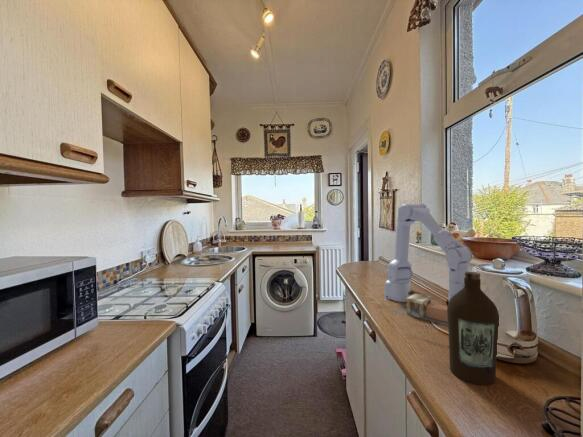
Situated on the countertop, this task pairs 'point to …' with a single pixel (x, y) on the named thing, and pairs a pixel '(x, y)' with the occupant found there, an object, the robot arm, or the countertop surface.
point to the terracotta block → (437, 312)
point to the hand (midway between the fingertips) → (458, 320)
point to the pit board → (417, 314)
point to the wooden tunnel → (417, 299)
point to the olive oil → (473, 333)
